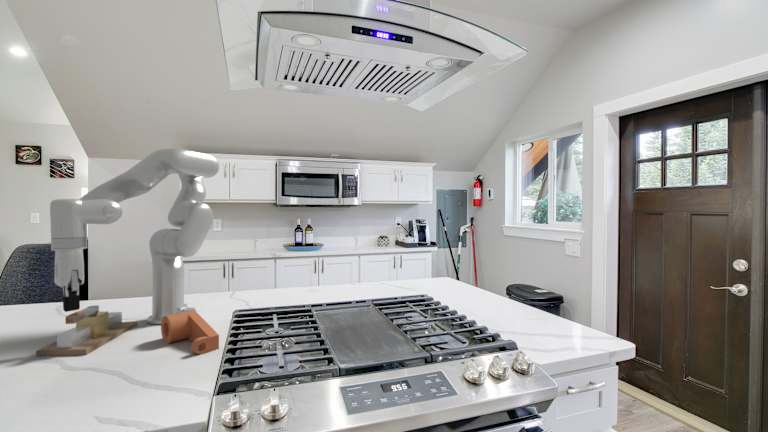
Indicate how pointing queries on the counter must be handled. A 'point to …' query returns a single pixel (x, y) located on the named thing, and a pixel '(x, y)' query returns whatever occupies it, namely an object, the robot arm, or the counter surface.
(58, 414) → the counter surface
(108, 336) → the walnut board
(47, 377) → the counter surface
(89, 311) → the lever
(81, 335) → the valve body
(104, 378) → the counter surface
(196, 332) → the crank
